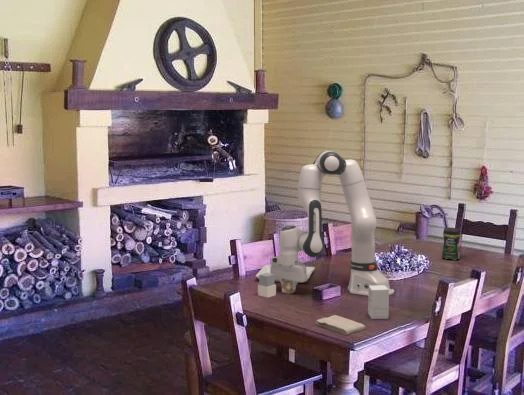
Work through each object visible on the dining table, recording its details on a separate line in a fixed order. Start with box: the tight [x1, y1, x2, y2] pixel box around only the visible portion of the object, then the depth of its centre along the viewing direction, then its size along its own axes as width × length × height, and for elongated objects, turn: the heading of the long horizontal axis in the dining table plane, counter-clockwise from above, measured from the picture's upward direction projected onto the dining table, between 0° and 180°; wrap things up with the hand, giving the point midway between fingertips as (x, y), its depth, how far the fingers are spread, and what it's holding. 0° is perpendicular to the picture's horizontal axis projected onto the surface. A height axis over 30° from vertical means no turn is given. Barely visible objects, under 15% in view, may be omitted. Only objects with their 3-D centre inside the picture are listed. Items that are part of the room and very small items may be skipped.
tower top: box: [258, 273, 275, 287], centre depth 318 cm, size 5×5×5 cm
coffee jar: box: [441, 226, 461, 260], centre depth 395 cm, size 10×8×19 cm
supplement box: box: [367, 285, 390, 320], centre depth 285 cm, size 7×7×13 cm
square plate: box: [255, 264, 316, 284], centre depth 354 cm, size 27×27×4 cm
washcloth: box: [315, 314, 366, 336], centre depth 272 cm, size 12×18×3 cm, turn 40°
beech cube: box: [281, 280, 296, 295], centre depth 324 cm, size 4×4×5 cm
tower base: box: [257, 283, 277, 298], centre depth 319 cm, size 6×6×5 cm
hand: (288, 288), depth 324 cm, fingers closed on beech cube, 4 cm apart
